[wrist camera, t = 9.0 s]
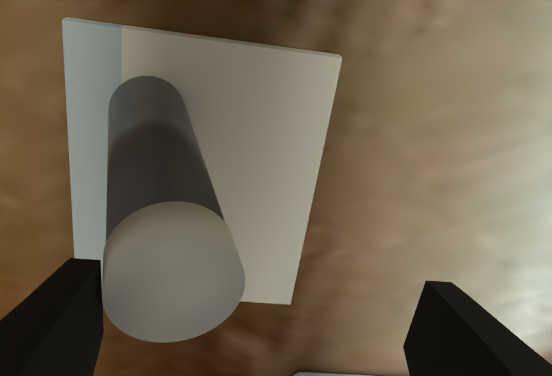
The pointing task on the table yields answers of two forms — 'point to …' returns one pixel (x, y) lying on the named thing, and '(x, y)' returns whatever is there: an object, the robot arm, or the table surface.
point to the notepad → (210, 134)
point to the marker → (163, 222)
